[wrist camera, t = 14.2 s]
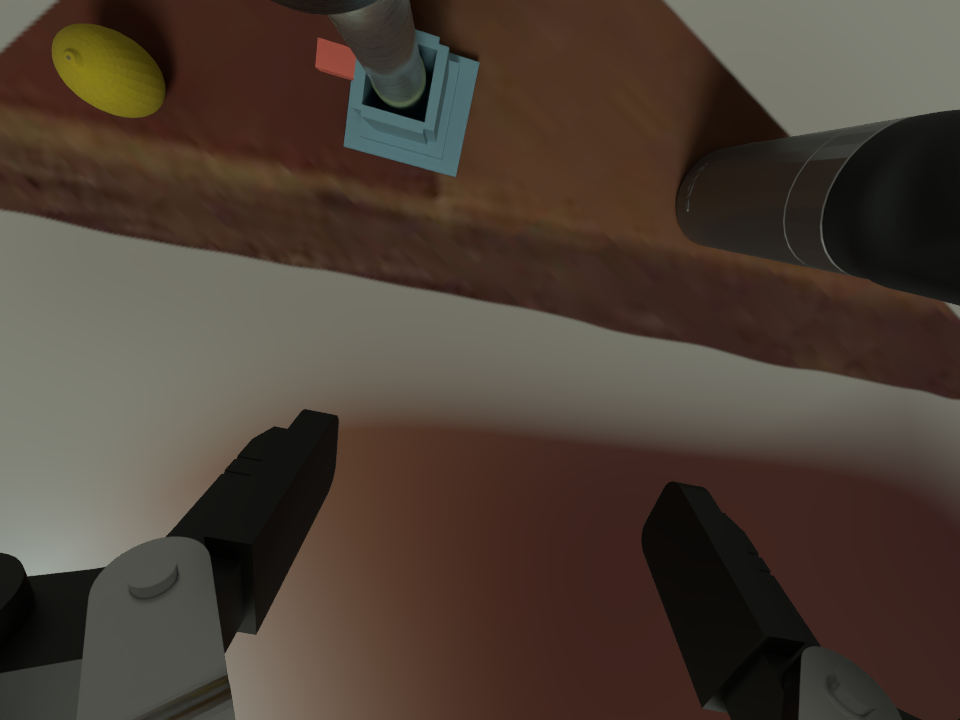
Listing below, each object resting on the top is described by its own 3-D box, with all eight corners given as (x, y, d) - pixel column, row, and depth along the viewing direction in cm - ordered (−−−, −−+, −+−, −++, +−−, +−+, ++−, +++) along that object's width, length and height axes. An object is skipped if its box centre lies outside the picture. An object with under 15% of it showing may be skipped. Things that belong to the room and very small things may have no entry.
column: (453, 54, 29) (477, -408, 7) (436, 146, 31) (410, 24, 9) (368, 27, 28) (67, -619, 6) (356, 123, 30) (100, -78, 8)
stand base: (478, 65, 35) (490, 20, 26) (455, 177, 38) (458, 171, 29) (357, 27, 34) (324, -37, 24) (343, 146, 37) (309, 130, 28)
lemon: (98, 57, 33) (-2, 17, 26) (164, 38, 33) (82, -7, 26) (137, 132, 35) (55, 116, 28) (199, 115, 35) (132, 94, 28)
